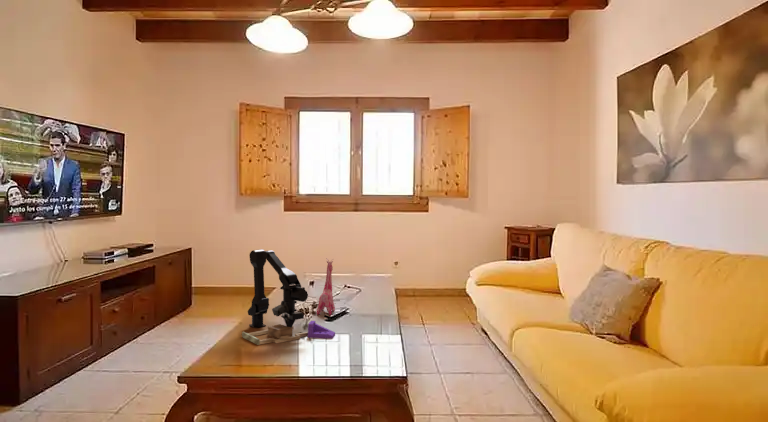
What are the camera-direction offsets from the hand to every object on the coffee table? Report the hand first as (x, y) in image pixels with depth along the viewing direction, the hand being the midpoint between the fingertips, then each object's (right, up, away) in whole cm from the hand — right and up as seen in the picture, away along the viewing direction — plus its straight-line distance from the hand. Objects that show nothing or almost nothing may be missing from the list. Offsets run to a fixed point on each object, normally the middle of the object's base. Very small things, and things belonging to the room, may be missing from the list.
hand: (289, 330), depth 286 cm
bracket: (+16, -3, -3) cm, 17 cm away
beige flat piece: (-5, -2, -5) cm, 8 cm away
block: (-4, -2, -3) cm, 5 cm away
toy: (+14, 0, +48) cm, 50 cm away
